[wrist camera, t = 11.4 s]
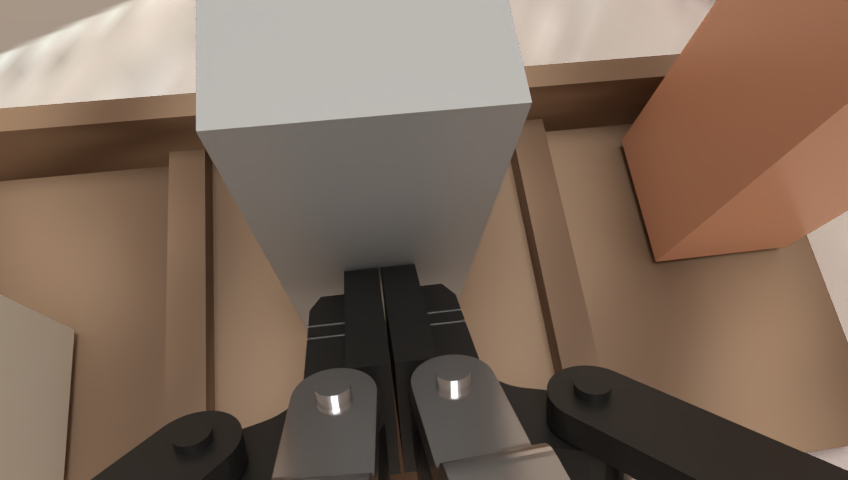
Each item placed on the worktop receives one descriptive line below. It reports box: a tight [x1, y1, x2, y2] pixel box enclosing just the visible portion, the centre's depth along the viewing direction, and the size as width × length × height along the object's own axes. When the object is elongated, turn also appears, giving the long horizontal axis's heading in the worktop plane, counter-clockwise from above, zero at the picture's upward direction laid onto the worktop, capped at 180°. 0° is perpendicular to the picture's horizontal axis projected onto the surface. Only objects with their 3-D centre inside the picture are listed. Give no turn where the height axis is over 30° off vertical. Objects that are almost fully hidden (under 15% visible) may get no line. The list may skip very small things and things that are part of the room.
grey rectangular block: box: [196, 0, 532, 329], centre depth 13 cm, size 4×4×10 cm
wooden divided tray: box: [0, 54, 848, 480], centre depth 17 cm, size 26×11×4 cm, turn 97°
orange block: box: [622, 0, 848, 262], centre depth 14 cm, size 4×4×10 cm
